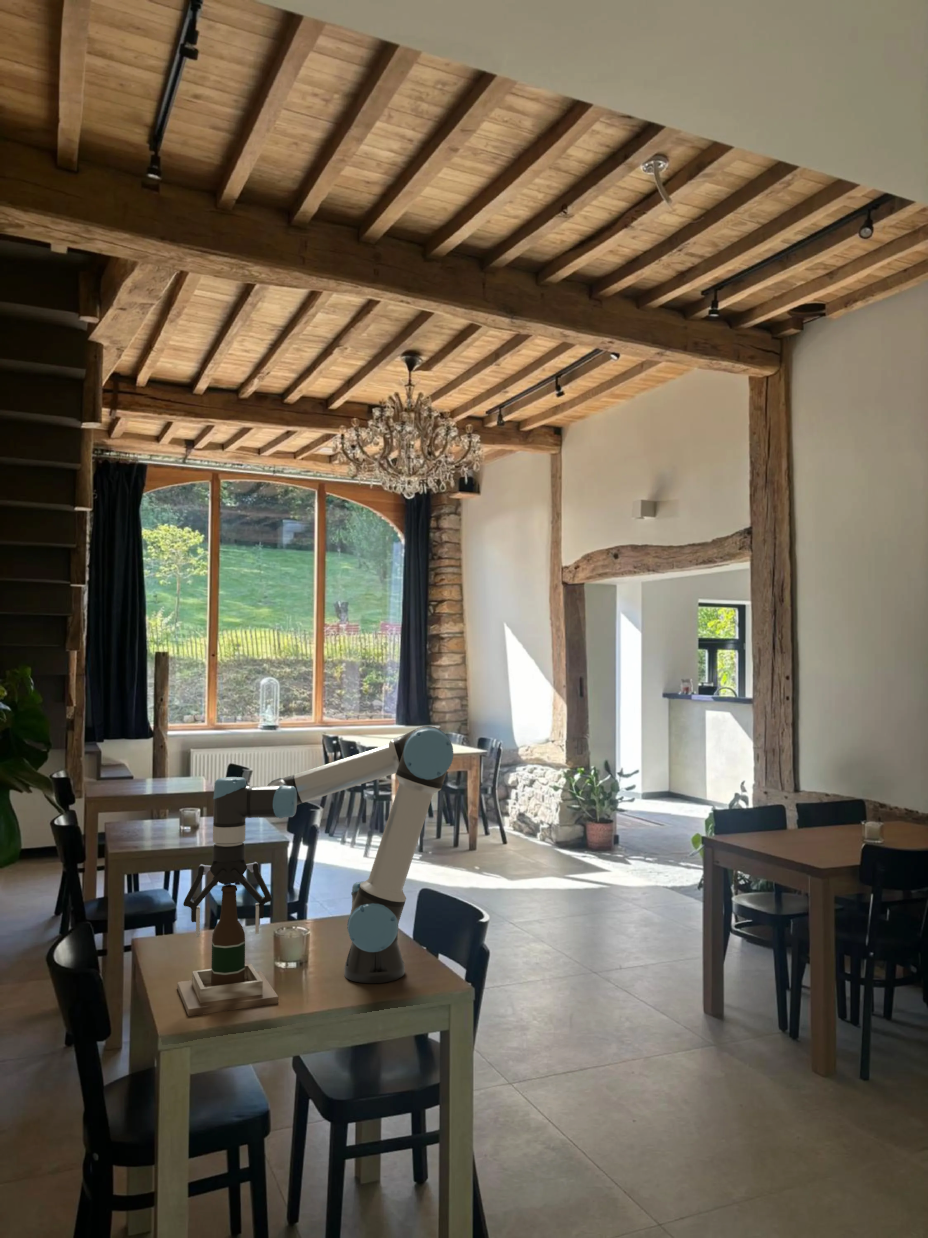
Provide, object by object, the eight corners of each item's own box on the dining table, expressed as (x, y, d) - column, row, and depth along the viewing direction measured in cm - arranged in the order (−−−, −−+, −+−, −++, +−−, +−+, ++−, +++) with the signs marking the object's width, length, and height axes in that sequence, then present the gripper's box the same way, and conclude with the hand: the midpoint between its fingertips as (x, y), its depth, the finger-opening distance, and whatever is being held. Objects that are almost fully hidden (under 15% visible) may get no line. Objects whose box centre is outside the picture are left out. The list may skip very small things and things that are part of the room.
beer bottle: (241, 994, 213) (242, 889, 214) (207, 995, 213) (209, 889, 214) (247, 983, 221) (248, 881, 222) (214, 983, 220) (216, 882, 222)
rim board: (260, 977, 230) (260, 959, 230) (278, 1003, 211) (278, 983, 212) (177, 988, 222) (177, 969, 222) (188, 1016, 203) (188, 995, 204)
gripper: (281, 838, 225) (280, 926, 224) (175, 842, 220) (173, 933, 218) (282, 844, 218) (281, 935, 217) (173, 848, 212) (171, 942, 211)
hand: (227, 934), depth 217 cm, fingers open, 13 cm apart
